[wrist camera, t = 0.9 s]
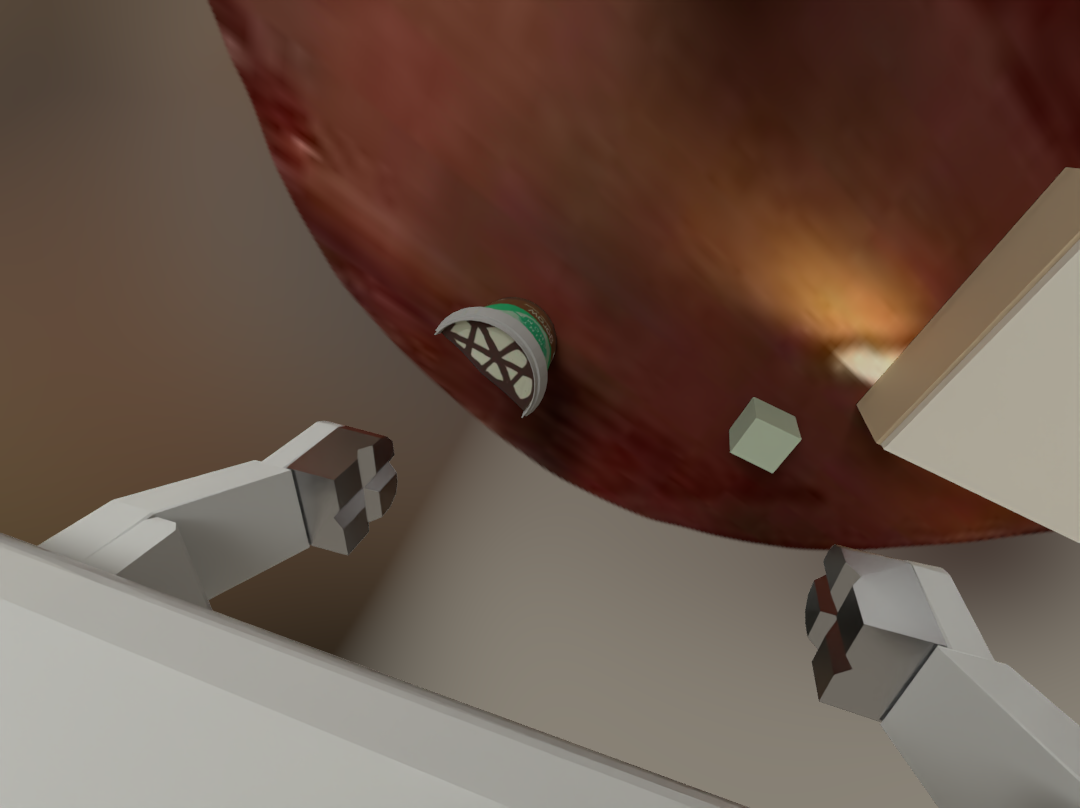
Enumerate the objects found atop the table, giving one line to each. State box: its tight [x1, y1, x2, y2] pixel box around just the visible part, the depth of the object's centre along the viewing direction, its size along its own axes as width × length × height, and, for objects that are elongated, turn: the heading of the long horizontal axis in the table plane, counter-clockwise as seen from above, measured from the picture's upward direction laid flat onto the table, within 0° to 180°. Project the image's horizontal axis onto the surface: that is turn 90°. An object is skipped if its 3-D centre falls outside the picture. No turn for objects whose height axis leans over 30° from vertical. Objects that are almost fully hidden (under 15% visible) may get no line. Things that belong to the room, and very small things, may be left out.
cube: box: [729, 397, 802, 473], centre depth 49 cm, size 4×4×4 cm
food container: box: [435, 297, 557, 417], centre depth 49 cm, size 12×6×10 cm, turn 49°
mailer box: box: [856, 167, 1080, 446], centre depth 38 cm, size 22×18×7 cm
